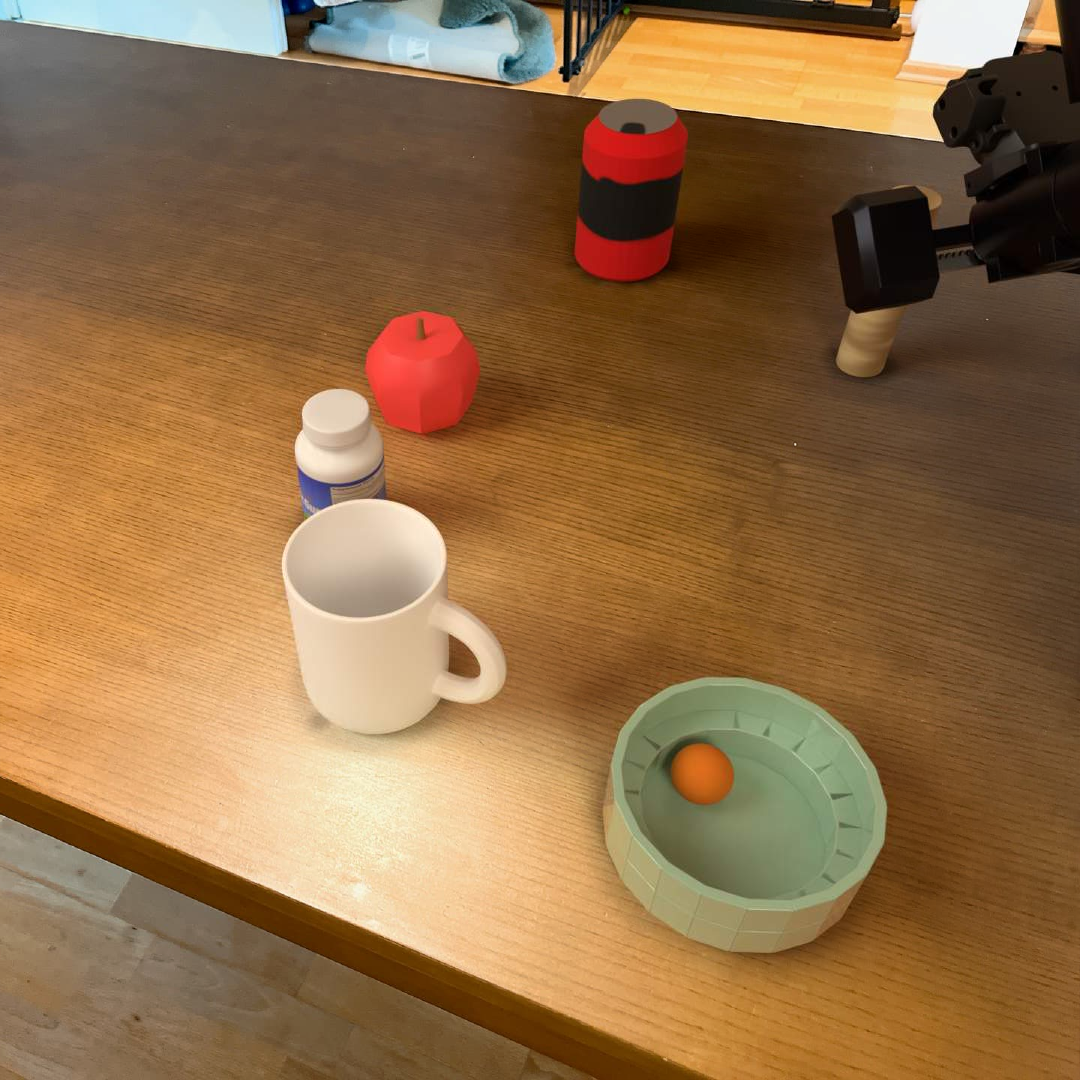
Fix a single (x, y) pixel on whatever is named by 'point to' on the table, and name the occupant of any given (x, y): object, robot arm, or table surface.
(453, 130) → the table surface
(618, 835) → the bowl
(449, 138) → the table surface
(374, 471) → the pill bottle
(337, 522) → the mug
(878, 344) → the stick
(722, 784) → the bead
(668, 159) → the soda can
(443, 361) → the apple
